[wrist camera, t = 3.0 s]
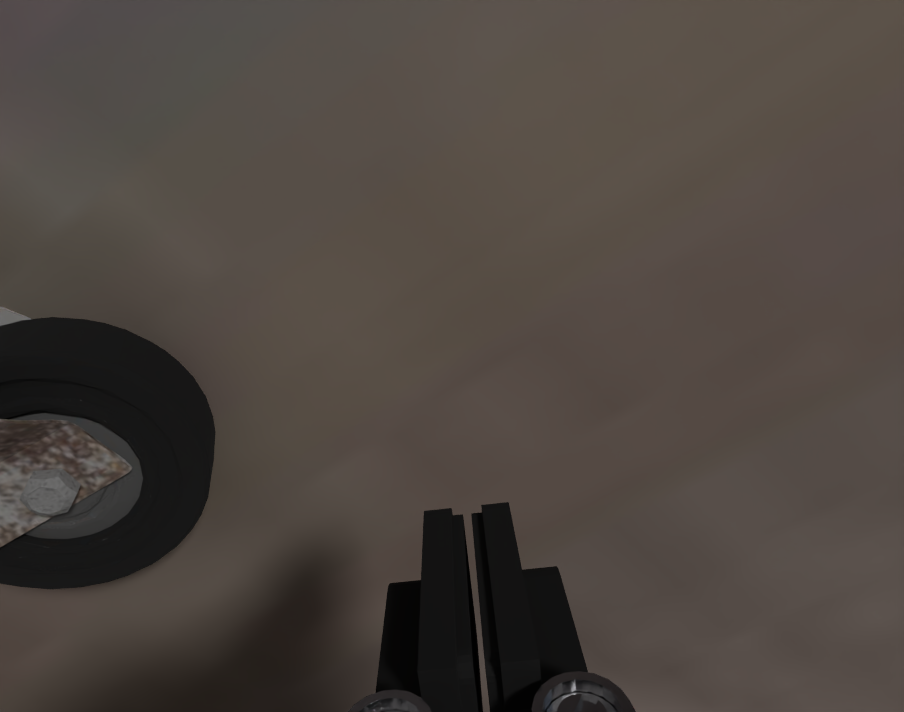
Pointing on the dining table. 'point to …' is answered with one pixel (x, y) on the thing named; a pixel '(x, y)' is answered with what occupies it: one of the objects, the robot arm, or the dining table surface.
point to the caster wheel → (95, 452)
